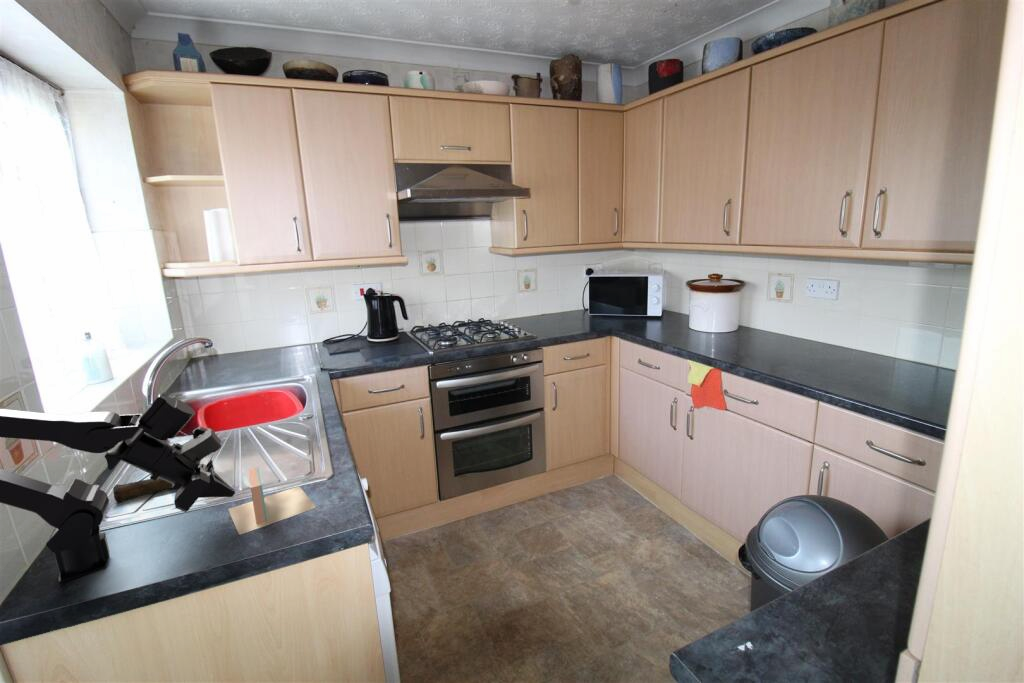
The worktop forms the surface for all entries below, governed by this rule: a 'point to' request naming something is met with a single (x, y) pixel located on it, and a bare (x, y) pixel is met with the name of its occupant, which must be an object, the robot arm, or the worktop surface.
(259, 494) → the terracotta tile
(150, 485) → the brown wooden rod
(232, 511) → the beech board
